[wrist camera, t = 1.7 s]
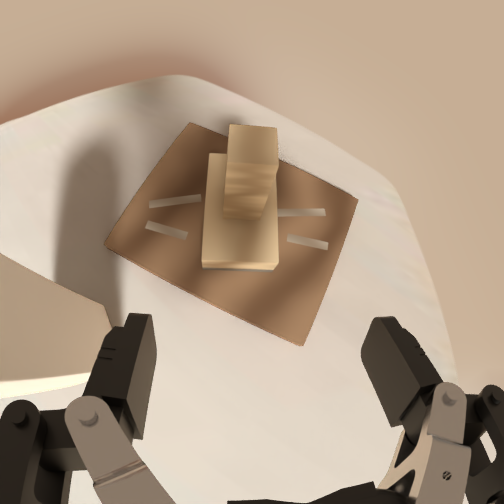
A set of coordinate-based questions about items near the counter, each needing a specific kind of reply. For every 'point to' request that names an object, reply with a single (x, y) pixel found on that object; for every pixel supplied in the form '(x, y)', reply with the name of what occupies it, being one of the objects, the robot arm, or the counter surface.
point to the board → (236, 282)
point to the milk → (45, 332)
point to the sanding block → (242, 203)
